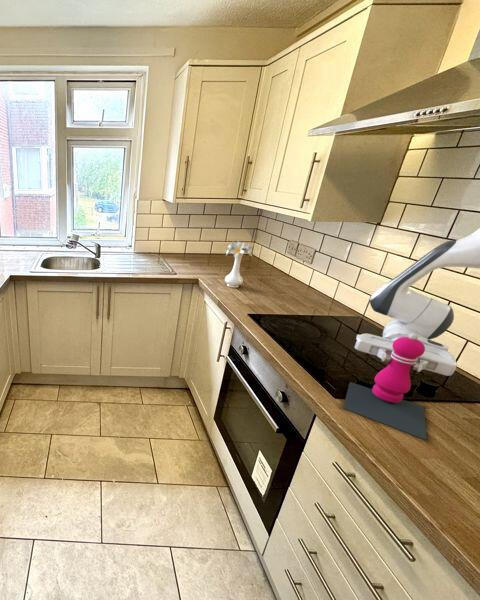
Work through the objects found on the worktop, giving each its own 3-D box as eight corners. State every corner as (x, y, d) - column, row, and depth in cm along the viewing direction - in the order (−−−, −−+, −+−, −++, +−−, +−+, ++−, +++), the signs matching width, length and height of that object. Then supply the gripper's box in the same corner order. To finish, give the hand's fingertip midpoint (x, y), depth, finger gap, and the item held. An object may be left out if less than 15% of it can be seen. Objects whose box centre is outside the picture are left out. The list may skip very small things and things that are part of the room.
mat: (423, 407, 87) (423, 406, 87) (426, 440, 76) (426, 439, 76) (349, 382, 97) (349, 381, 97) (343, 408, 86) (343, 407, 86)
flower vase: (239, 281, 185) (248, 238, 176) (248, 291, 169) (259, 245, 159) (216, 279, 188) (223, 237, 178) (223, 290, 171) (231, 244, 161)
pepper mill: (409, 400, 88) (440, 337, 80) (394, 407, 85) (425, 342, 78) (378, 385, 94) (405, 325, 86) (363, 390, 91) (389, 329, 84)
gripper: (360, 324, 99) (355, 340, 90) (456, 348, 86) (462, 369, 77) (353, 342, 102) (348, 359, 92) (446, 367, 89) (451, 390, 79)
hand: (401, 364), depth 85 cm, fingers closed on pepper mill, 5 cm apart
